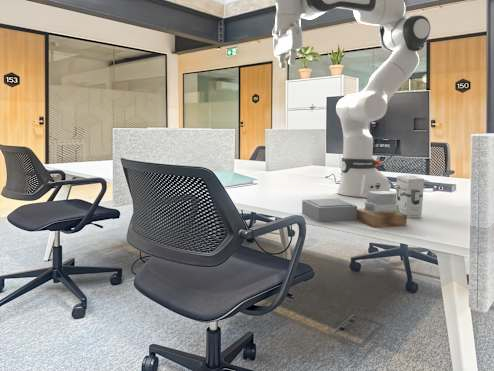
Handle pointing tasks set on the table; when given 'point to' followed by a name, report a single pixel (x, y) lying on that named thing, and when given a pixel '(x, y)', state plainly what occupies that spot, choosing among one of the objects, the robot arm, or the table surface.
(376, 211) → the housing
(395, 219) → the walnut stand
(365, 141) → the robot arm
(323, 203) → the grey riser
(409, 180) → the ink box
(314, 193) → the table surface
